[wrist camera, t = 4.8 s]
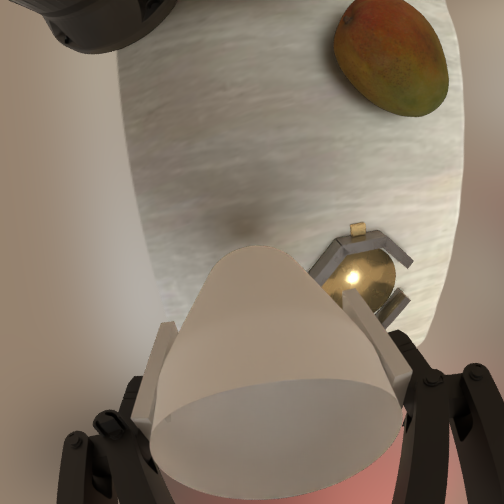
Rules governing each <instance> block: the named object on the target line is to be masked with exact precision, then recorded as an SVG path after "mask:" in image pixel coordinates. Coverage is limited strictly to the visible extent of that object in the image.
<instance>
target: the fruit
mask: <svg viewBox="0 0 504 504" xmlns="http://www.w3.org/2000/svg"><path fill="white" fill-rule="evenodd" d="M334 52H335V56H336V59H337V62H338V64H339V66H340V68H341V70H342V71H343V73H344V74H345V76H346V77H347V78H348V79H349V81H350V82H351V83H352V84H353V86H354V87H355V88H356V89H357V90H358V91H359V92H360V93H361V94H362V95H363V96H365V97H366V98H367V99H368V100H369V101H371V102H372V103H374V104H375V105H377V106H378V107H380V108H382V109H384V110H386V111H389V112H391V113H394V114H397V115H401V116H407V117H421V116H424V115H427V114H429V113H431V112H433V111H434V110H435V109H437V108H438V107H439V106H440V105H441V103H442V102H443V101H444V99H445V97H446V95H447V92H448V86H449V76H448V69H447V64H446V59H445V56H444V53H443V49H442V46H441V43H440V41H439V39H438V36H437V34H436V33H435V31H434V29H433V28H432V26H431V25H430V23H429V22H428V21H427V20H426V18H425V17H424V16H423V15H422V14H421V13H420V12H419V11H418V10H416V9H415V8H414V7H413V6H411V5H410V4H409V3H407V2H405V1H404V0H355V1H354V2H353V3H352V4H351V5H350V6H349V7H348V8H347V10H346V11H345V13H344V15H343V16H342V18H341V20H340V22H339V25H338V27H337V30H336V33H335V37H334Z"/></svg>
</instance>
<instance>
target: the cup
mask: <svg viewBox="0 0 504 504" xmlns="http://www.w3.org/2000/svg"><path fill="white" fill-rule="evenodd" d="M169 414H171V422H169V423H167V422H166V420H165V419H164V418H165V417H167V416H168V415H169ZM401 425H402V409H401V407H400V405H399V402H398V400H397V398H396V396H395V393H394V391H393V389H392V387H391V385H390V382H389V380H388V378H387V376H386V373H385V371H384V369H383V367H382V364H381V362H380V359H379V357H378V355H377V353H376V351H375V348H374V346H373V345H372V344H371V342H370V341H369V339H368V338H367V337H366V335H365V334H364V333H363V332H362V330H361V329H360V328H359V327H358V326H357V325H356V324H355V323H354V322H353V321H352V320H351V318H350V317H349V316H348V315H347V314H346V313H345V312H344V311H343V310H342V309H341V308H340V307H339V306H338V305H337V303H336V302H335V301H334V300H333V299H332V298H331V297H330V296H329V295H328V294H327V293H326V292H325V291H324V290H323V289H322V288H321V287H320V285H319V284H318V283H317V282H316V281H315V280H314V279H313V278H312V277H311V276H310V275H309V274H308V273H307V272H306V271H305V270H304V269H303V268H302V267H301V266H300V265H299V264H298V263H297V261H296V260H295V259H294V258H292V257H291V256H290V255H288V254H287V253H285V252H283V251H281V250H279V249H276V248H273V247H268V246H248V247H243V248H240V249H237V250H235V251H233V252H231V253H229V254H227V255H226V256H224V257H223V258H222V259H220V260H219V261H218V262H217V263H216V265H215V266H214V267H213V269H212V270H211V272H210V274H209V275H208V277H207V279H206V281H205V283H204V285H203V287H202V289H201V291H200V292H199V294H198V296H197V298H196V300H195V302H194V304H193V306H192V308H191V310H190V312H189V314H188V315H187V317H186V319H185V321H184V323H183V325H182V327H181V329H180V331H179V333H178V335H177V337H176V339H175V341H174V343H173V345H172V347H171V349H170V351H169V353H168V355H167V357H166V359H165V361H164V364H163V367H162V369H161V372H160V375H159V380H158V387H157V398H156V406H155V412H154V419H153V425H152V431H151V437H150V452H151V455H152V457H153V459H154V461H155V462H156V464H157V465H158V466H159V467H160V468H161V469H162V470H163V471H164V472H165V473H166V474H167V475H168V476H170V477H171V478H173V479H175V480H176V481H178V482H180V483H181V484H183V485H186V486H187V487H190V488H192V489H195V490H198V491H201V492H204V493H207V494H211V495H216V496H220V497H226V498H234V499H246V500H267V499H279V498H287V497H293V496H298V495H303V494H307V493H311V492H314V491H318V490H321V489H324V488H327V487H330V486H332V485H335V484H337V483H339V482H342V481H344V480H346V479H348V478H350V477H351V476H354V475H355V474H357V473H359V472H360V471H362V470H364V469H365V468H366V467H368V466H369V465H371V464H372V463H373V462H374V461H376V460H377V459H378V458H379V457H380V456H382V454H384V453H385V452H386V450H387V449H388V448H389V447H390V446H391V445H392V443H393V442H394V440H395V439H396V437H397V435H398V433H399V431H400V428H401Z"/></svg>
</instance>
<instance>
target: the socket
mask: <svg viewBox="0 0 504 504" xmlns="http://www.w3.org/2000/svg"><path fill="white" fill-rule="evenodd" d="M350 229H351V236H346V237H340V238H336V239H334V241H333V242H332V243H331V245H330V246H329V247H328V248H327V250H326V251H325V252H324V254H323V255H322V256H321V257H320V259H319V260H318V261H317V263H316V264H315V265H314V266H313V268H312V269H311V270H310V271H309V273H308V274H309V275H310V276H311V277H312V278H313V279H314V280H315V281H316V282H317V283H318V284H319V285H320V287H321V288H322V289H323V290H324V291H325V292H326V293H327V294H328V295H329V296H330V297H331V298H332V299H333V300H334V301H335V302H336V303H337V305H338V306H339V307H340V308H341V309H342V310H343V303H342V291H344V290H349V289H353V288H356V290H357V291H358V292H359V294H360V295H361V296H362V298H363V299H364V301H365V302H366V303H367V305H368V306H369V308H370V309H371V310H372V312H373V313H374V312H376V311H377V310H378V309H379V308H380V307H382V308H381V309H380V310H379V311H378V312H377V313H376V314H375V316H376V317H377V319H378V320H379V322H380V323H381V325H382V326H383V327H384V329H386V328H387V327H388V326H389V325H390V324H391V323H392V322H393V321H394V319H395V318H396V317H397V316H398V315H399V314H400V313H401V311H402V310H403V309H404V308H405V307H406V306H407V304H408V303H409V302H410V301H411V300H410V299H409V298H408V297H407V296H406V295H405V294H404V293H403V292H402V291H401V290H400V289H399V288H397V290H396V291H395V292H394V293H393V295H392V296H391V297H390V298H389V296H390V295H391V293H392V290H393V288H394V284H395V278H396V272H395V267H394V263H393V261H392V259H391V258H390V257H389V255H388V254H387V253H386V252H384V251H383V250H381V249H379V248H384V249H385V250H386V251H388V252H389V253H390V254H391V255H392V256H393V257H395V258H396V259H397V260H398V261H399V262H400V263H401V264H403V265H404V266H405V267H406V268H407V269H408V268H409V267H410V265H411V264H412V263H413V260H412V259H411V258H410V257H409V256H408V255H407V254H406V253H405V252H404V251H403V250H402V249H401V248H399V247H398V246H397V245H396V244H395V243H394V242H393V241H392V240H391V239H390V238H388V237H387V236H386V235H384V234H383V233H382V232H380V231H378V230H377V231H372V232H366V224H365V223H364V222H362V223H357V224H351V225H350ZM388 298H389V299H388ZM387 300H388V301H387ZM386 301H387V302H386ZM385 302H386V303H385ZM384 303H385V304H384ZM383 304H384V305H383ZM382 305H383V306H382Z"/></svg>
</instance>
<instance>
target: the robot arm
mask: <svg viewBox="0 0 504 504" xmlns="http://www.w3.org/2000/svg"><path fill="white" fill-rule="evenodd" d="M9 1H12V2H14V3H16V4H19V5H21V6H24V7H26V8H28V9H30V10H32V11H35V12H37V13H39V14H41V15H42V16H43V17H44V19H45V21H46V23H47V24H48V26H49V28H50V30H51V31H52V33H53V35H54V36H55V38H56V39H57V40H58V41H59V42H60V43H62V44H63V45H65V46H66V47H69V48H70V49H73V50H75V51H77V52H80V53H84V54H102V53H107V52H112V51H115V50H118V49H121V48H123V47H126V46H128V45H130V44H132V43H134V42H136V41H137V40H139V39H141V38H142V37H144V36H145V35H146V34H148V33H149V32H150V31H152V30H153V29H154V28H155V27H156V26H158V25H159V24H160V23H161V22H162V21H163V20H164V19H165V17H166V16H167V15H168V14H169V13H170V11H171V10H172V8H173V7H174V5H175V3H176V2H177V0H9ZM342 303H343V311H344V312H345V313H346V314H347V315H348V316H349V317H350V318H351V320H352V321H353V322H354V323H355V324H356V325H357V326H358V327H359V328H360V329H361V330H362V332H363V333H364V334H365V335H366V337H367V338H368V339H369V341H370V342H371V344H372V345H373V346H374V348H375V351H376V353H377V355H378V357H379V359H380V362H381V364H382V367H383V369H384V371H385V373H386V376H387V378H388V380H389V382H390V385H391V387H392V389H393V391H394V393H395V396H396V398H397V400H398V402H399V405H400V407H401V409H402V407H403V405H404V407H405V409H406V411H407V414H406V417H405V419H404V422H403V425H402V426H404V435H403V443H402V451H401V458H400V465H399V470H398V476H397V481H396V486H395V491H394V496H393V500H392V504H445V496H446V488H447V477H448V462H449V423H450V426H451V430H452V434H453V437H454V441H455V445H456V449H457V452H458V457H459V461H460V465H461V470H462V474H463V479H464V484H465V490H466V495H467V501H468V504H504V401H503V399H502V397H501V395H500V393H499V391H498V388H497V386H496V384H495V382H494V380H493V378H492V376H491V375H490V372H489V370H488V369H487V368H486V367H485V366H484V365H482V364H479V363H472V364H469V365H467V366H466V367H465V368H464V370H463V373H460V374H452V375H444V374H443V373H442V372H441V371H439V370H437V369H432V368H431V367H430V366H429V364H428V363H427V362H426V360H425V359H424V357H423V356H422V354H421V353H420V352H419V351H418V349H416V346H415V345H414V344H413V343H412V341H411V340H410V338H409V337H408V336H407V334H405V333H403V332H402V331H400V330H395V331H392V332H388V333H387V332H386V330H385V329H384V327H383V326H382V325H381V323H380V322H379V320H378V319H377V317H376V316H375V315H374V313H373V312H372V310H371V309H370V308H369V306H368V305H367V303H366V302H365V301H364V299H363V298H362V296H361V295H360V294H359V292H358V291H357V290H356V288H353V289H349V290H344V291H342ZM177 335H178V330H177V328H176V325H175V322H174V321H172V322H164V323H161V325H160V328H159V331H158V333H157V337H156V339H155V342H154V345H153V348H152V351H151V354H150V357H149V360H148V363H147V366H146V369H145V372H144V375H143V376H134V377H133V378H132V380H131V381H130V382H129V383H128V385H127V388H126V391H125V392H126V393H125V394H124V397H123V400H122V403H121V406H120V409H119V412H116V411H115V410H105V411H103V412H101V413H99V414H98V415H97V416H96V417H95V419H94V421H93V427H94V428H95V429H96V430H97V432H99V435H95V436H90V437H88V436H87V435H86V434H85V433H84V432H82V431H75V432H72V433H70V434H69V435H68V436H67V437H66V439H65V441H64V446H63V452H62V459H61V466H60V473H59V482H58V492H57V504H118V499H119V502H120V504H175V503H174V501H173V499H172V497H171V495H170V492H169V490H168V488H167V486H166V484H165V481H164V479H163V477H162V475H161V472H160V470H159V467H158V465H157V464H156V462H155V461H154V459H153V457H152V455H151V452H150V437H151V431H152V425H153V419H154V412H155V406H156V398H157V387H158V380H159V375H160V372H161V369H162V367H163V364H164V361H165V359H166V357H167V355H168V353H169V351H170V349H171V347H172V345H173V343H174V341H175V339H176V337H177ZM164 419H165V420H166V422H167V423H169V422H171V414H169V415H168V416H167V417H165V418H164Z"/></svg>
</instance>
